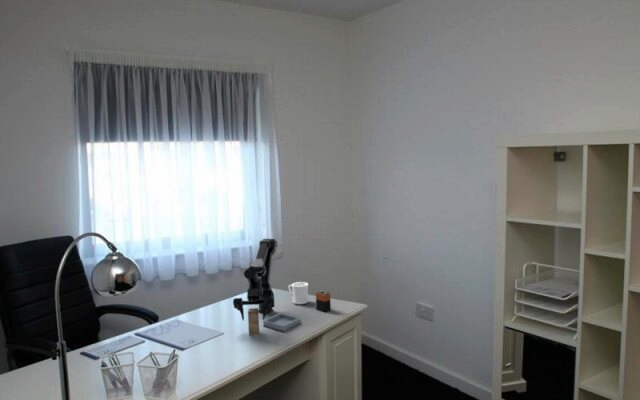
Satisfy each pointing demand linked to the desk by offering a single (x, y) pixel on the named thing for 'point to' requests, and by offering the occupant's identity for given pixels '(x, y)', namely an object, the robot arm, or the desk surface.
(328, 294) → the battery
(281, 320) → the tray
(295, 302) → the mug
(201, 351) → the desk surface
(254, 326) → the walnut block
